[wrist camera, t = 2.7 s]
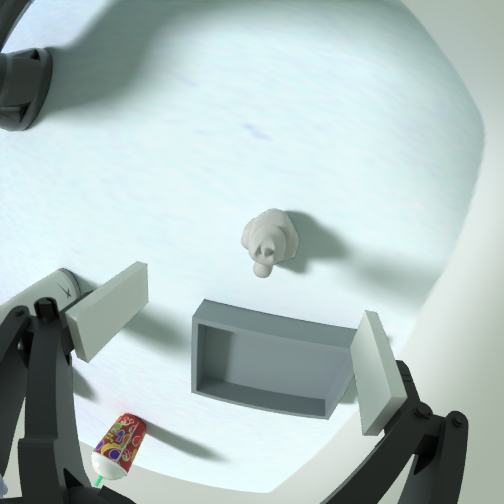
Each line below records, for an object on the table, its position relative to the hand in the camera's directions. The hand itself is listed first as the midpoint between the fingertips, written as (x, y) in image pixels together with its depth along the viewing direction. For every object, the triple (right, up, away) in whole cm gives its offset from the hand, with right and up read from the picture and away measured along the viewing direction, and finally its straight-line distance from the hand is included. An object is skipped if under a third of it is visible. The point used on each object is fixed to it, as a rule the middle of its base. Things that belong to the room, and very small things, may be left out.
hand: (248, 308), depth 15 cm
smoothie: (-26, -34, +32) cm, 54 cm away
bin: (+3, -11, +18) cm, 21 cm away
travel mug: (-30, -2, +22) cm, 37 cm away
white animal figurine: (+2, +5, +13) cm, 14 cm away
